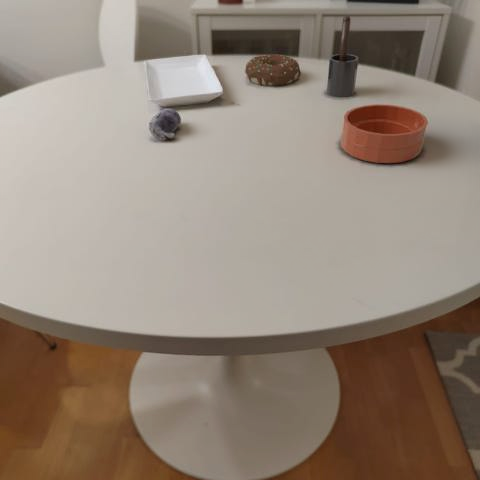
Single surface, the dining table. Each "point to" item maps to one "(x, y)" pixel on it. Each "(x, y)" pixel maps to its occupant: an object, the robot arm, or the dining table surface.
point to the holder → (342, 76)
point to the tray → (181, 81)
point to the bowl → (383, 133)
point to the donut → (272, 70)
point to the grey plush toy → (164, 124)
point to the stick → (344, 38)
